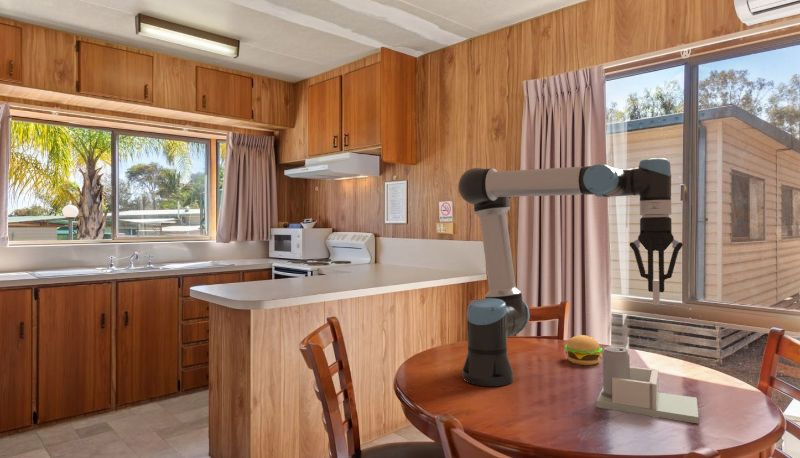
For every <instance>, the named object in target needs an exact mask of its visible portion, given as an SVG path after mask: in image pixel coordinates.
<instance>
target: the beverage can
mask: <svg viewBox="0 0 800 458" xmlns="http://www.w3.org/2000/svg"><path fill="white" fill-rule="evenodd" d="M603 349H604V350H603V352H602V380H603V381H602V383H603V384H602V386H603V387H602V388H603V391H604V392H605V393H606V394H607V395H608V396H611V397H612V378H621V379H629V380H630V366H631V364H630V362H631V361H630V353H629V350H628V348H625V347H622V346H621V347H620V346H605V347H604V348H603Z"/></svg>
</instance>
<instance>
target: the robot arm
mask: <svg viewBox="0 0 800 458" xmlns="http://www.w3.org/2000/svg"><path fill="white" fill-rule="evenodd" d="M457 189H458V193H459V195H460V196H461V198H462V199H463V200H464V201H465V202H467V203H468V204H470V205H473V210H474V211H473V212H474V214H475V215H476V216H478V217H479V221H480V229H481V230H480V231H481V236H482V237H481V238H482V243H483V251H484V259H485V260H484V261H485V268H486V275H487V282H488V291H487V292H486V294H485V296H484V297H485V298H484V297H483V298H480V299H479V298H478V299H475V300H473V301H471V302H470V303H469V304H468V306H467V312H466V320H467V321H466V325H467V329H466V330H467V331H466V333H467V335H466V336H467V353H466V357H465V360H464V364H463V367H462V371H461V376H462V377H463V379H465V380H466V381H468V382H470V383H473V384H472V385H474V384H476V385H475V386H479V385H481V387H502V386H506V385H510V384H511V383H513V382H514V371H513V367H512V365H511V362H510V360H509V359H510V358H509V355H508V349H507V348H508V347H507V346H508V344H507V343H508V338H510V337H511V336H515V335H518V334H519V333H520V332H522V331H523V330H524V329H525V328H526V327H527V325H528V324H529V321H530V318H531V317H530V308H529V306H528V304H527V302H525V301H524V300H523V294H522V291H521V290H520V289H519V288H518V287H517V285H516V277H515V271H514V264H513V263H514V261H513V255H512V248H511V240H510V233H509V227H508V226H509V224H508V218H507V214H508V212H509V211H510V209H511V205H510V204H511V203H510V200H511V198H512V197H516V198H517V197H542V196H543V197H545V196H547V197H548V196H549V197H550V196H579V195H583V196H584V195H585V196H588V195H589V196H591V195H594V196H595V197H596V198H598V197H599V198H610V197H627V196H639V215H640V216H641V217H640V218H639V235H637V239H636V240H634V241H631V242H630V243H629V247H630V248H631V249H632V251H633V253H634V257H635V261H636V264H637V268H638V272H639V274H640V277H641V278H643V279H647V286H648V287H647V290H648V292H650V293H652V305H653V306H660V304H661V302H660V301H661V299H660V296H661V293H664V292H665V280H667V279H671V278H672V276H673V273H674V270H675V269H674V268H675V265H676V262H677V258H678V254H679V251H680V250H681V249H682V248H683V246H684V243H683V242H680V241H678V240H676V239H674V237H675V236H674V235H673V232H672V231H673V230H672V217H670V216H671V215H672V171H671V162H670V160H669V159H667V158H661V157H659V158H657V157H655V158H648V159H642V160H640V161H639V164H638V167H634V168H621V169H620V168H616V167H613V166H612V165H609V164H606V163H597V164H593V165H591V166H590V165H587V166H569V167H554V168H553V167H552V168H538V169H537V168H536V169H535V168H533V169H518V170H504V171H498V170H497V169H496V168H493V167H492V168H482V167H473V168H470V169H467V170H466V171H465V172H463V174H462V175H461V176H460V178H459V179H458V184H457ZM640 244H641V245H642V246H643V247H644V249H645V250H647V272H646V270H645V266H644V263H643V259H642V256H641V251H640V247H641V245H640ZM671 244H672V245H671ZM670 245H671V247H672V248H673V250H672V254H671V257H670V260H669V261H670V262H669V263H668V264H669V265H668V269H667V273H665V250H667V248H668V247H669V246H670ZM654 252H658V279H654ZM462 377H461V378H462ZM463 379H462V380H463ZM466 381H465V382H466ZM468 382H467V383H468ZM470 383H469V384H470Z"/></svg>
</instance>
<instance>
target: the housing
mask: <svg viewBox="0 0 800 458" xmlns="http://www.w3.org/2000/svg"><path fill="white" fill-rule="evenodd" d="M659 377H660V376H659V369H656V368H644V367H638V366H631V365H630V380H629V379H621V378H612V403H617V404H624V405H630V406H636V407H643V408H649V409H657V402H658V394H659V393H660V392H659V391H660V389H659V384H660V383H659Z"/></svg>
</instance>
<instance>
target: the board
mask: <svg viewBox="0 0 800 458" xmlns="http://www.w3.org/2000/svg"><path fill="white" fill-rule="evenodd" d="M595 402H596V403H595V407H596V408H599V409H606V410H613V411H618V412H625V413H630V414H637V415H643V416H650V417H655V418H663V419H668V420H674V421H680V422H686V423H692V424H698V425H699V423H700V422H699V421H700V420H699V409H698V398H697V397H695V396H694V397H693V396H685V395H680V394H673V393H665V392H659V394H658V402H657V409H649V408H643V407H636V406H630V405H624V404H617V403H612V397H611V396H608V395H607V394H606V393H605V392H604V391H603V387H602V388H601V391H600V392H599V395H598V397H597V399H596V401H595Z"/></svg>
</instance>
